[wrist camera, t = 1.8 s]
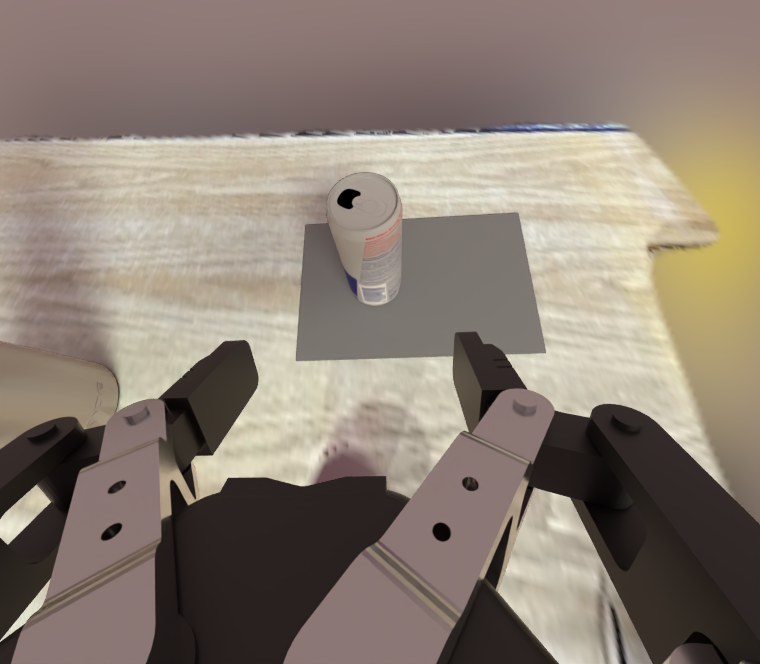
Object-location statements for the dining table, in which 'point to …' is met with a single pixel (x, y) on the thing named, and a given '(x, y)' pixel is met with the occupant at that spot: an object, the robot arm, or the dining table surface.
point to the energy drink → (368, 235)
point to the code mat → (424, 293)
